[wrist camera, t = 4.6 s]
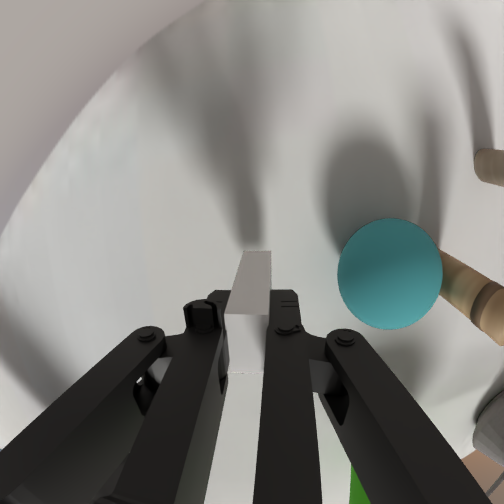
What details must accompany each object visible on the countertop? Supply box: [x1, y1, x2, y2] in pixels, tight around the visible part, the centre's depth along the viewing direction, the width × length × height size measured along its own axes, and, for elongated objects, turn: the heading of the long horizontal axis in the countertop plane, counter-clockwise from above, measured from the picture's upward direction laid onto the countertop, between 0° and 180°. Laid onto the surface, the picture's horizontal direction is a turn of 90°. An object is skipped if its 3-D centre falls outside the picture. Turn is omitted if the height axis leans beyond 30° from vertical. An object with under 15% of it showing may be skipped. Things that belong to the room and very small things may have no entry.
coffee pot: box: [473, 390, 504, 497], centre depth 16 cm, size 21×12×15 cm, turn 118°
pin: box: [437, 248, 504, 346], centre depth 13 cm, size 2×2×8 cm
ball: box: [337, 218, 443, 330], centre depth 14 cm, size 6×6×6 cm
